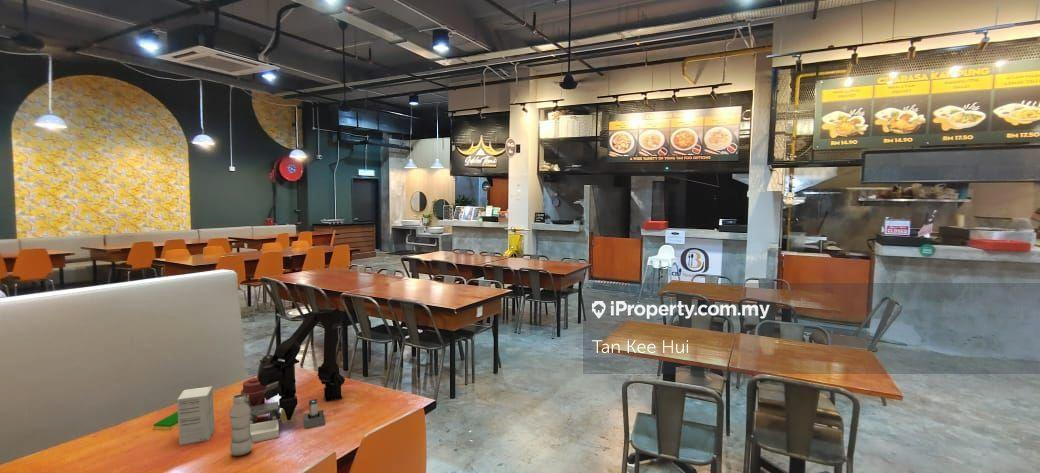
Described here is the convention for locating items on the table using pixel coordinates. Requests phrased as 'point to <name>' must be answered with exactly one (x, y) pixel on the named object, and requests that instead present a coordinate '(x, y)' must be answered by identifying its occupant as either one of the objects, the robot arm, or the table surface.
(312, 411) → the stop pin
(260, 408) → the trolley
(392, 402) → the table surface
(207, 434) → the supplement box
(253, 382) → the mechanical component
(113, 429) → the table surface
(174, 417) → the dish sponge
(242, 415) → the plastic bottle
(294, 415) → the block
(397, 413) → the table surface
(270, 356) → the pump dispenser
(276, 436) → the tray
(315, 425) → the pin bracket
